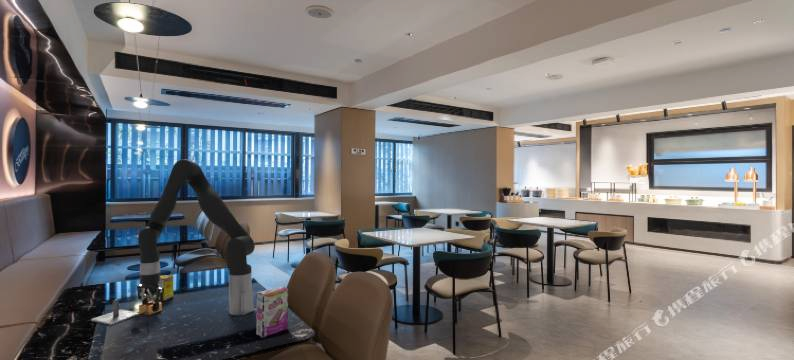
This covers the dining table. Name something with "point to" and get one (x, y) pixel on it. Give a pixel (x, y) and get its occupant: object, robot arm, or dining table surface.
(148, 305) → the link
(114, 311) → the keeper
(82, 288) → the dining table surface
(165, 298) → the supplement box
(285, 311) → the candy bar box
